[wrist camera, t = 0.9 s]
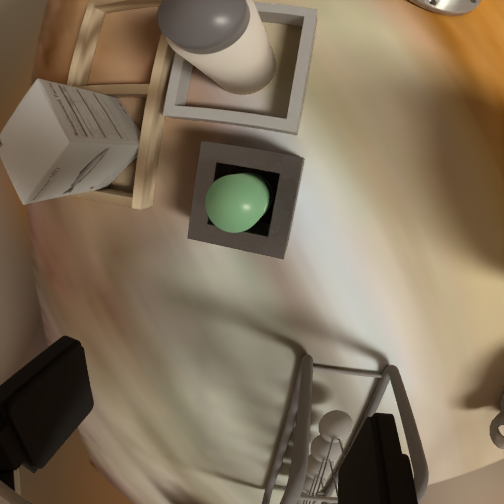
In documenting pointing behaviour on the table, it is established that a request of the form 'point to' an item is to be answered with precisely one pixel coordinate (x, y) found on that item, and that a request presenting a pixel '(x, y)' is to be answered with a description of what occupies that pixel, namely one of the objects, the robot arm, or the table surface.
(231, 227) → the button
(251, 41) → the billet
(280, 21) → the frame
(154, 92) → the wooden frame with crossbar
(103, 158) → the supplement box
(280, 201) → the grey square holder
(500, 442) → the coffee mug
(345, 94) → the table surface
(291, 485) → the newton's cradle
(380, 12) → the table surface
